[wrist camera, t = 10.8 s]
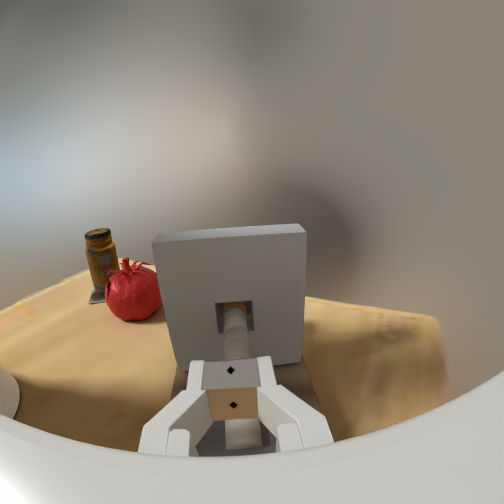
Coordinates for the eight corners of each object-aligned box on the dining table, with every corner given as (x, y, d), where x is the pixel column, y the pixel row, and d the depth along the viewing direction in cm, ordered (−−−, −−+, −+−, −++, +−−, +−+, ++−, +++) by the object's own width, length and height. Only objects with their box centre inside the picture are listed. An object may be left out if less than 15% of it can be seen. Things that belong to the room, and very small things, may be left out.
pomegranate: (175, 298, 46) (168, 247, 43) (152, 330, 37) (140, 270, 34) (127, 294, 47) (118, 246, 44) (98, 322, 38) (84, 267, 35)
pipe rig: (343, 487, 14) (377, 428, 11) (160, 501, 13) (112, 447, 10) (288, 326, 37) (289, 264, 34) (186, 334, 36) (174, 272, 33)
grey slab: (300, 362, 28) (306, 231, 23) (179, 370, 27) (151, 242, 22) (295, 345, 31) (298, 223, 26) (182, 353, 30) (159, 233, 25)
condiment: (126, 280, 53) (116, 224, 49) (124, 299, 46) (111, 234, 42) (94, 286, 51) (82, 230, 47) (88, 305, 43) (72, 241, 39)
